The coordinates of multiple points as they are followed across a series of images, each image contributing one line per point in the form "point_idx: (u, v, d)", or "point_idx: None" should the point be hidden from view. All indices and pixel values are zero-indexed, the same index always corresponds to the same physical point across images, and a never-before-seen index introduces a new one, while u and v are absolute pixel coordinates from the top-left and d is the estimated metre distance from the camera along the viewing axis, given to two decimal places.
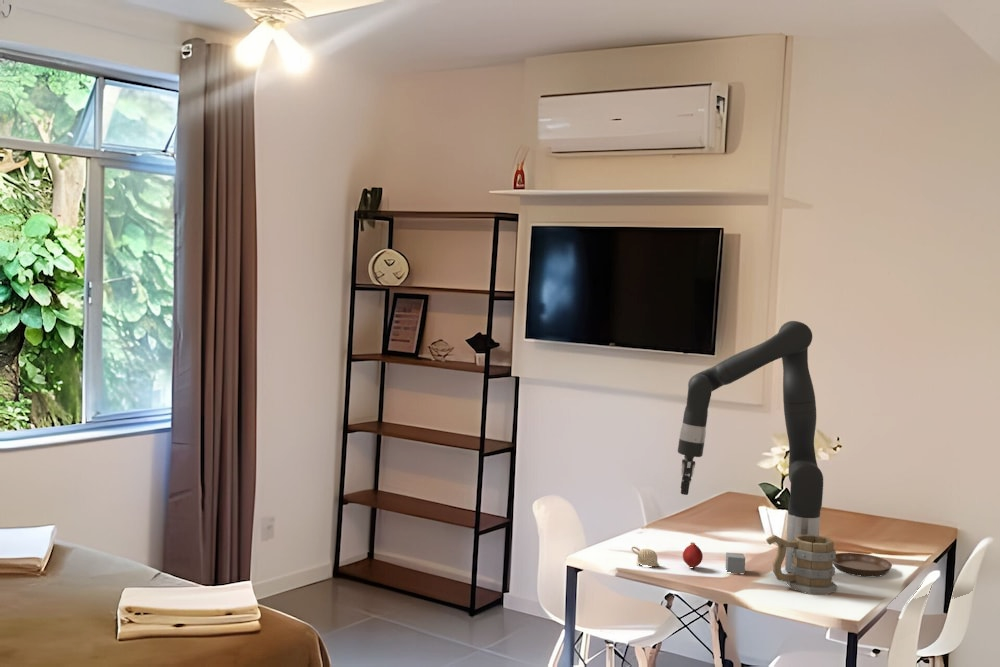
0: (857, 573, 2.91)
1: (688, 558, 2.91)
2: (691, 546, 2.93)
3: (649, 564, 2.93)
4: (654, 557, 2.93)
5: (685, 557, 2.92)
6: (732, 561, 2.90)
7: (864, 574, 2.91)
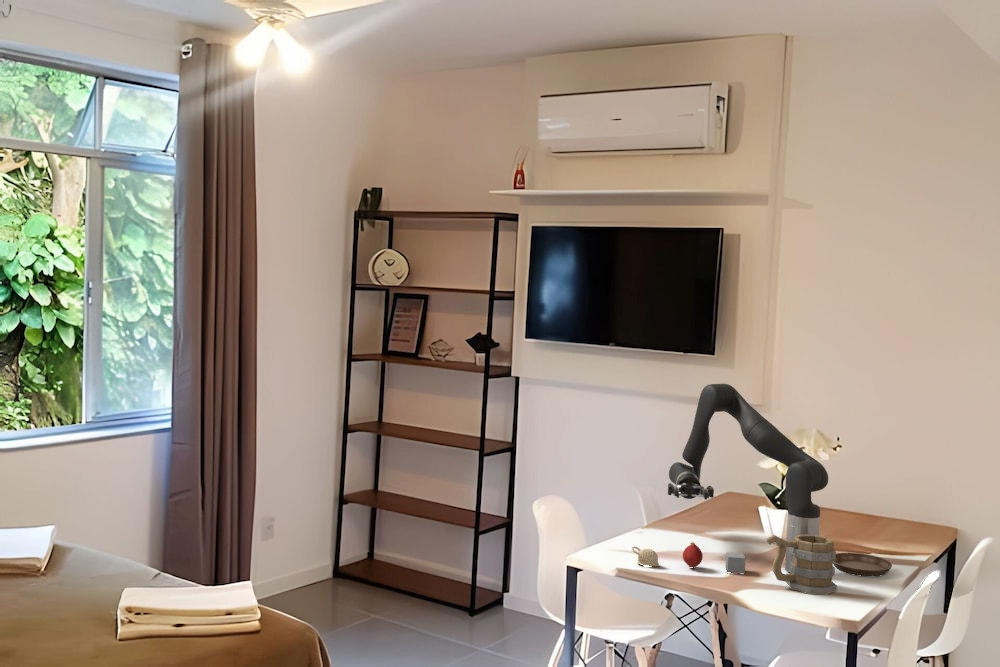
0: (857, 573, 2.91)
1: (688, 558, 2.91)
2: (691, 546, 2.93)
3: (649, 564, 2.93)
4: (654, 557, 2.93)
5: (685, 557, 2.92)
6: (732, 561, 2.90)
7: (864, 574, 2.91)
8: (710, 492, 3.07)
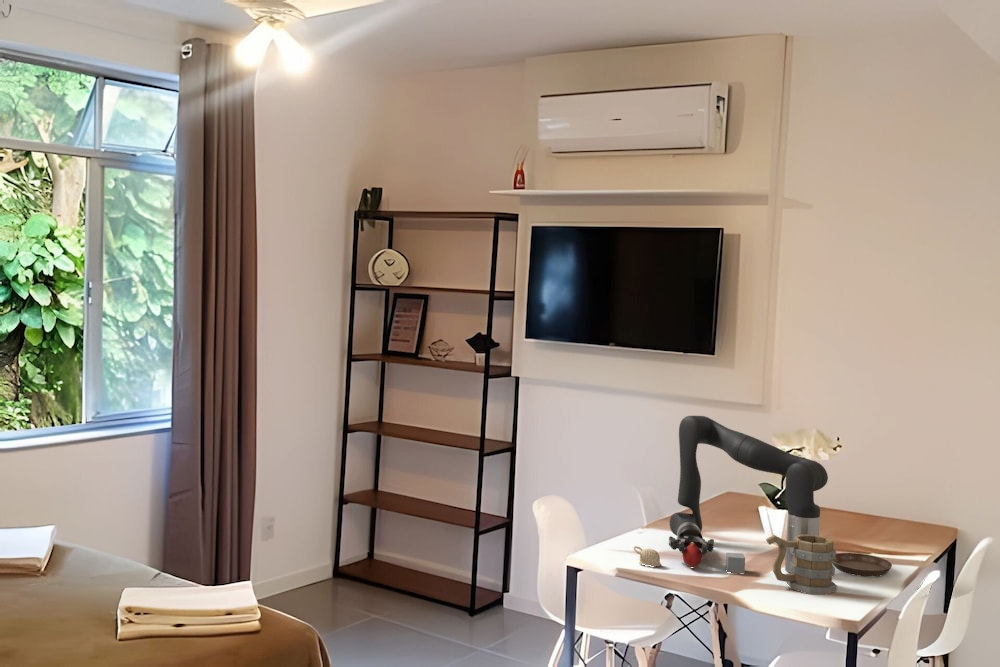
0: (857, 573, 2.91)
1: (688, 558, 2.91)
2: (691, 546, 2.93)
3: (651, 564, 2.94)
4: (656, 557, 2.93)
5: (685, 558, 2.92)
6: (732, 561, 2.90)
7: (864, 574, 2.91)
8: (708, 546, 2.95)
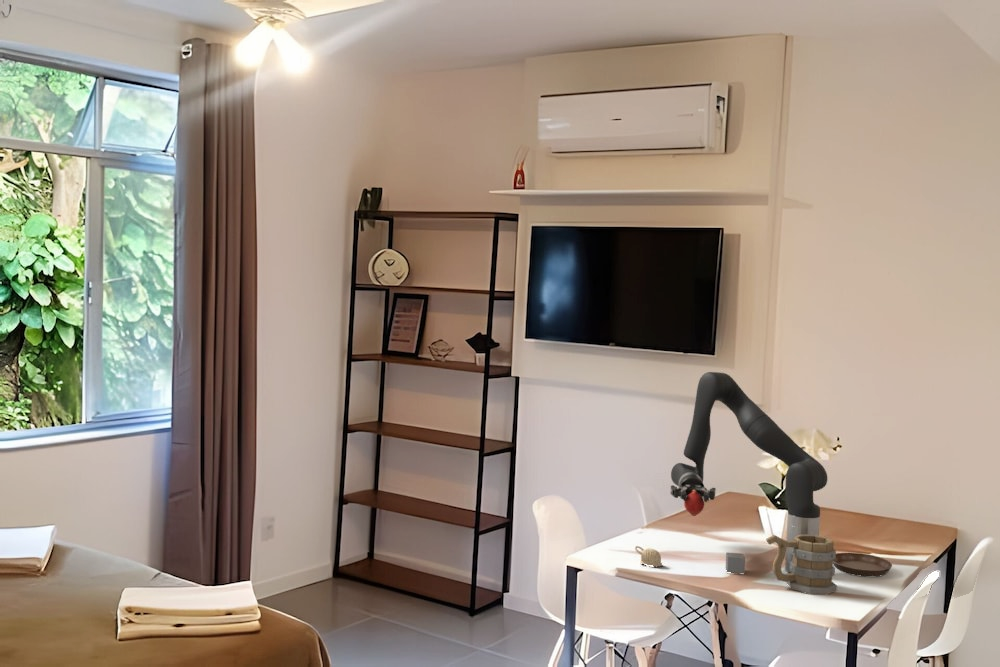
0: (857, 573, 2.91)
1: (690, 505, 2.91)
2: (692, 494, 2.93)
3: (652, 564, 2.94)
4: (657, 557, 2.93)
5: (687, 505, 2.92)
6: (732, 561, 2.90)
7: (864, 574, 2.91)
8: (710, 494, 2.95)
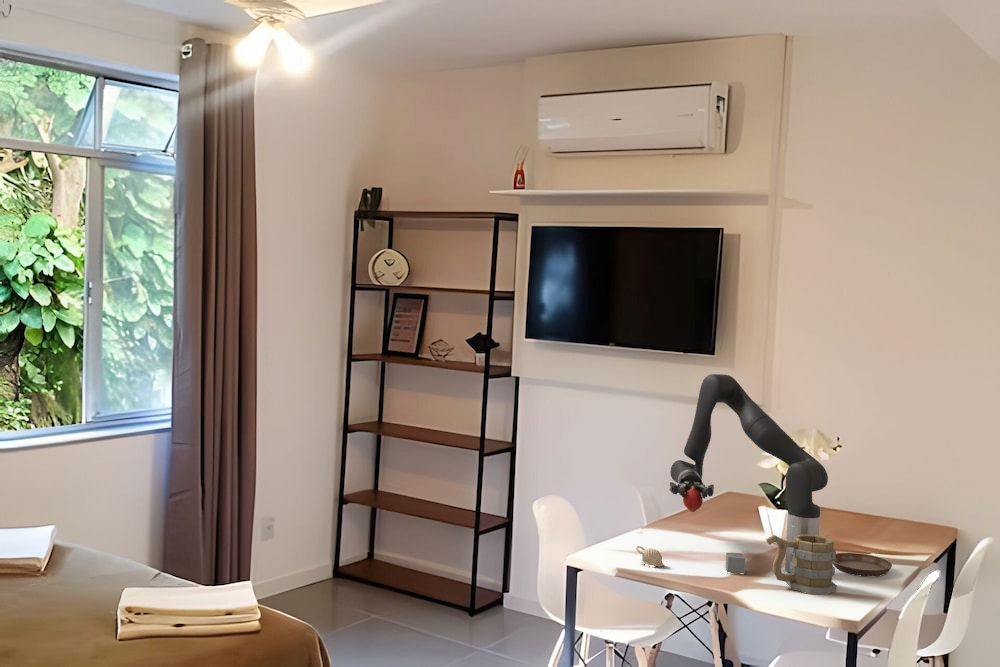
0: (857, 573, 2.92)
1: (688, 502, 2.96)
2: (691, 490, 2.98)
3: (653, 564, 2.94)
4: (658, 557, 2.93)
5: (685, 501, 2.97)
6: (732, 561, 2.90)
7: (864, 574, 2.91)
8: (708, 490, 3.00)
